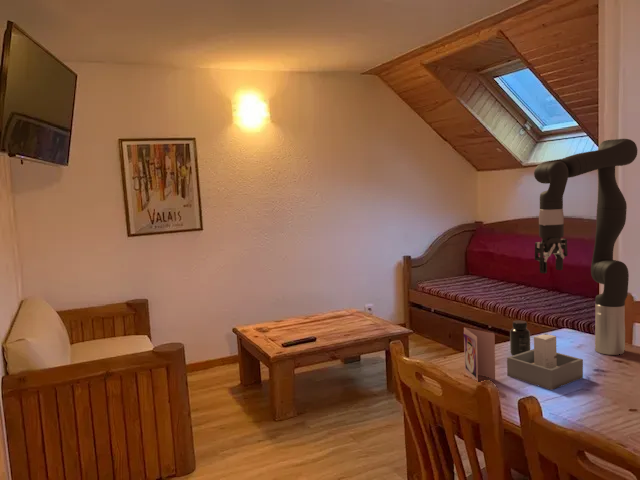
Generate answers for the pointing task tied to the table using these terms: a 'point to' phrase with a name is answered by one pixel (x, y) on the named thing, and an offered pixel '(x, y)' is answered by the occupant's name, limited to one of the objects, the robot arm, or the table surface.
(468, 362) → the greeting card
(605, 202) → the robot arm
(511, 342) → the supplement bottle
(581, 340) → the table surface
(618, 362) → the table surface
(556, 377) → the crate
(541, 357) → the skincare box
